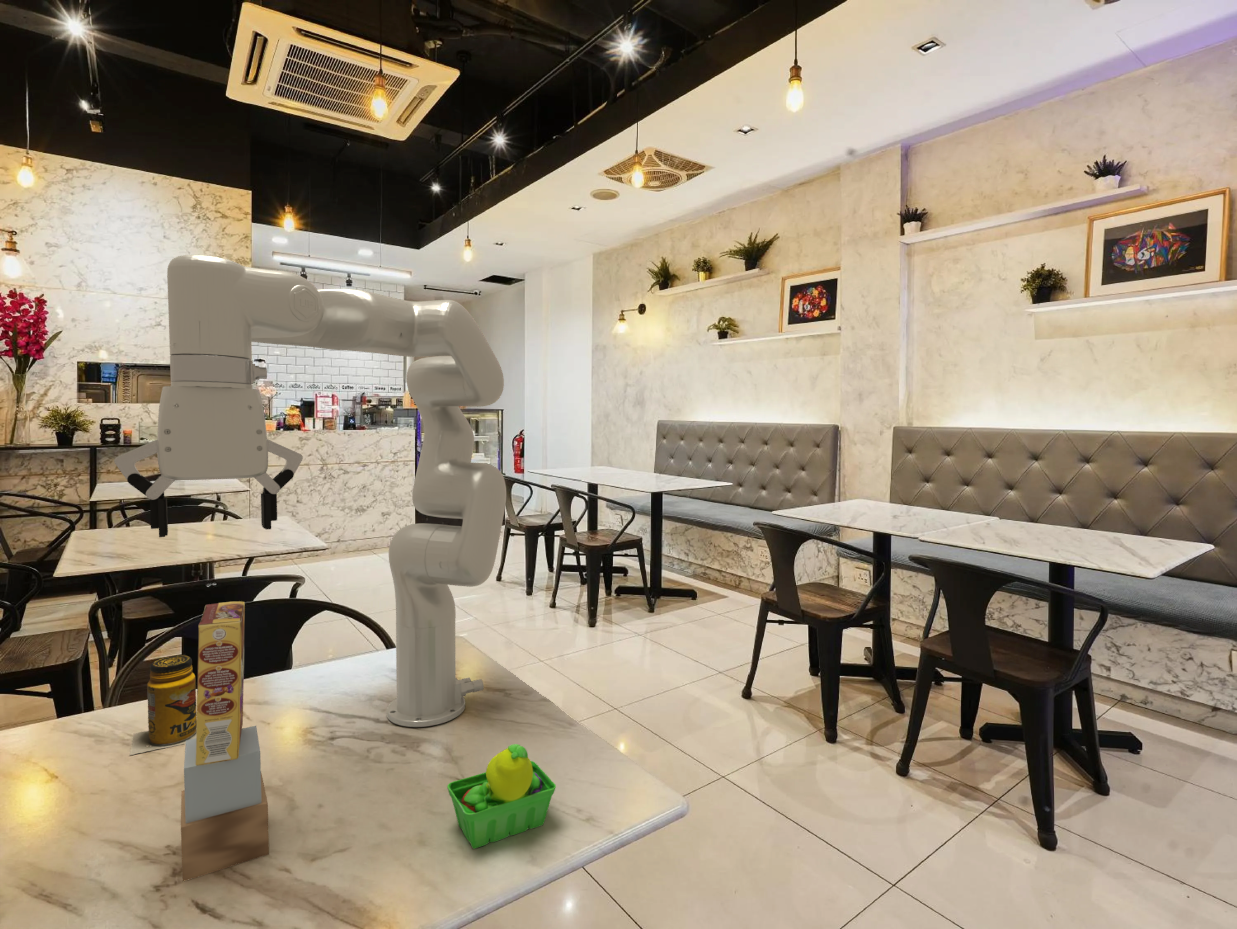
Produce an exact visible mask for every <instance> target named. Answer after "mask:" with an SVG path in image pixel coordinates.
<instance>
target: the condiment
mask: <svg viewBox="0 0 1237 929" xmlns="http://www.w3.org/2000/svg"><path fill="white" fill-rule="evenodd" d="M192 664H193V660H192V657H191V656H188V655H170V656H165V657H162V658H158V659H157V660H154V661H153V662H151V663H150V666H149V671H150V673H149V678H150V679H149V680H148V682H147V684H146V689H147V693H146V694H147V713H148V715H147V724H148V726H147V727H148V730H146V731H139V732H134V733H133V735H132V742H131V746H130V752H129V756H133V755H136V754H142V753H145V752H150V751H151V752H152V751H155V750H160V749H166V748H171V747H175V746H181V745H186V740H191V739H195V738H196V729H197V689H196V688H197V685H196V683H197V682H196V675H195V673H194V672H193V665H192Z"/></svg>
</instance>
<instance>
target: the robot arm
mask: <svg viewBox="0 0 1237 929" xmlns="http://www.w3.org/2000/svg"><path fill="white" fill-rule="evenodd" d="M166 274H167V275H166V276H167V302H168V303H167V307H168V334H169V335H168V336H169V339H168V340H169V365H170V366H169V367H170V369H169V370H170V385H167V386H166V385H165V386H162V388H161V393H160V399H159V404H158V405H159V407H158V416H157V418H158V419H157V439H155V440H153V441H151V442H148V443H146V444H144V445H141V446H139V447H137V448H134V449H132V450H129V451H126V452H125V453H122V454H120V455H118V456H116V457H115V458H114V464H115V465H116V467H117V468H118V470H119V472H120V473H121V474H122V476H123V477H124V478H125V480H126V481H127V483H128V484H129V485H131V487H133V488H134V489H136V490H137V491H138V492H140V493H141V494H143V495H144V496H145V497H146V498H147V499H149V510H150V511H149V515H150V516H149V517H150V529H151V530H153V529H155V530H156V529H158V537H159V538H165V537H167V536H168V534H169V526H168V522H169V520H168V498H167V497H165V491H167V489H168V488H169V487H170V486H171V485H172V484H173V483H174V482H175V481H203V480H205V481H206V480H235V479H238V480H239V479H253V478H254V479H255V480H256V481H257V482H259V484H260V485H261V486H262V493H260V514H261V515H260V517H261V518H260V519H261V527H262V528H263V529H265V530H272V522H277V521H278V496H277V494H279V493H280V490H282V489H283V488H284V487H285V486H286V485H287V484H288V483H289V482H290V481H291V480H293V478H294V476H295V473H296V472H297V470H298V469H299V467H300V465H301V463H302V461H303V459H304V456H303V455H302V454H301V453H299V452H297V451H295V450H292V449H290V448H287V447H286V446H284V445H282V444H279V443H277V442H274V441H272V440H270V439H268V434H267V426H266V418H265V417H266V416H265V413H264V406H263V400H262V396H261V393H260V390H259V389H257V388H253V384H254V382H256V381H260V380H267V379H268V370H267V367H266V366H264V367H263V366H259V365H256V363H253V362H254V361H253V360H252V356H253V354H252V352H253V351H252V343H259V344H267V345H269V344H270V345H282V346H296V347H306V348H307V347H308V348H317V349H322V350H323V349H324V350H330V351H331V350H333V351H348V352H349V351H350V352H351V351H352V352H360V353H370V354H371V353H373V354H380V355H381V354H382V355H388V356H389V355H390V356H398V357H409V358H413V357H415V358H416V357H419V359H417V360H414V361H413V362H412V363H411V364H409V366H408V369H407V372H406V387H407V390H408V392H409V394H410V397H411V398H412V400H413V402H414V404H415V406H416V407H417V411H418V413H419V415H420V418H421V420H422V424H423V441H422V447H421V451H420V456H419V460H418V463H417V469H416V473H415V478H414V482H413V486H412V487H413V488H412V492H411V494H412V498H411V499H412V504H413V507H414V508H415V510H416V511H417V512H419V513H420V514H422V515H426V516H429V517H436V518H445V519H458V520H459V519H460V520H462V524H461V526H460V525H448V524H438V523H426V522H425V523H421V522H420V523H413V524H409V525H406V526H403V527H402V528H400V529H398V530H397V532H395V534H394V535H393V537H392V538H391V540H390V543H389V546H388V563H389V567H390V572H391V577H392V582H393V585H394V586H393V588H394V597H395V638H396V639H395V654H396V655H395V656H396V657H395V661H396V662H395V663H396V665H395V666H396V673H395V674H396V676H395V677H396V698H394V699H393V700H392V701H391V702H390V703H389V704H388V705H387V708H386V717H387V719H388V720H389V722H391V723H393V724H395V725H398V726H401V727H407V728H423V727H424V728H425V727H431V726H436V725H441V724H444V723H446V722H449V721H451V720H454V719H455V718H457V717H458V716H460V715H461V714H462V713H463V712H464V711H465V708H466V699H465V697H466V696H467V694H471V693H477V692H481V691H483V690H484V688H485V687H484V681H483V680H482V678H479V679H476V680H471V679H472V678H470V677H463V678H462V679H458V678H457V677H456V673H457V672H456V619H457V618H456V613H457V611H456V603H455V599H454V596H453V593H452V590H451V589H450V586H457V587H469V588H470V587H477V586H480V585H482V584H484V583H485V582H486V581H487V580H488V579H489V578H490V576H491V574H492V571H493V569H494V566H495V562H496V559H497V554H498V547H499V542H500V538H501V537H500V536H501V531H502V525H503V520H504V515H505V511H506V509H505V508H506V504H507V503H506V502H507V485H506V481H505V478H504V475H503V473H502V472H501V471H500V469H499V468H497V467H496V466H494V465H492V464H489V463H485V462H472V459H473V451H474V448H475V447H474V445H475V436H474V432H473V429H472V427H471V424H470V422H469V421H468V419H467V418H466V416H465V414H464V413H463V411H462V409H461V408H460V407H479V408H481V407H487V406H491V405H493V404H495V403H496V402H497V401H498V400H500V398H501V396H502V395H503V391H504V389H505V388H504V387H505V379H504V373H503V370H502V366H501V365H500V363H499V360H498V358H497V357H496V355H495V353H494V351H493V349H492V348H491V346H490V343H489V342H488V340H487V338H486V336H485V335H484V333H483V331H482V329H480V326H479V324H478V323H477V321H476V320H475V319H474V317H473V315H471V313H470V312H469V311H468V309H466V308H465V306H463V305H462V304H461V303H460V302H458V301H456V300H452V299H438V300H436V299H435V300H424V301H422V300H421V301H415V300H414V301H413V300H405V299H401V298H397V297H393V296H387V295H384V294H380V293H375V292H371V291H368V290H364V289H357V288H355V289H354V288H353V289H352V288H327V289H318V288H317V287H316V286H315V285H314V284H313V283H312V282H311V281H310V280H308V279H307V278H305V277H304V276H301V275H300V274H297V273H294V272H291V271H286V270H275V269H266V268H258V267H249V266H244V265H242V264H240V263H238V262H236V261H234V260H230V259H227V258H223V257H218V256H213V255H212V256H211V255H205V254H204V255H203V254H183V255H178V256H176V257H173V258H172V259H171V260H170V261H169V264H168V266H167V270H166ZM420 357H422V358H420ZM269 453H271V454H273V455H275V456H278V457H280V458H282V459H284V460H285V464H284V466H283V469H282V470H280V471H279V473H278V474H276V475H275V476H273V478H272V477H271V476H270V475H269V474H268V473H267V472H268V468H269ZM155 454H157V465H158V470H159V473H160V476H158V477H157V479H155V481H154V482H152V481H150V480H149V479H148V478H146V477H145V476H143V474H141V473H140V471H139V470H138V468H137V466H136V463H137V462H139V461H141V460H144V459H147V458H148V457H150V456H151V457H152V456H153V455H155Z"/></svg>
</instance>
